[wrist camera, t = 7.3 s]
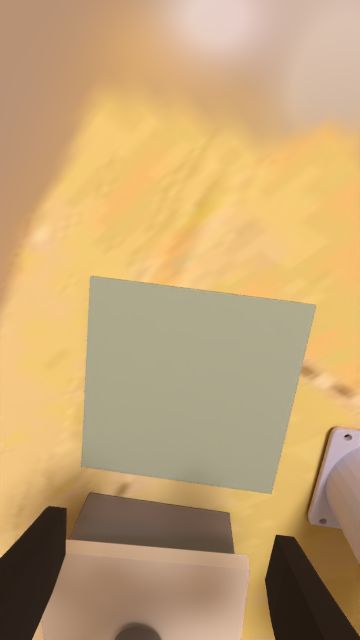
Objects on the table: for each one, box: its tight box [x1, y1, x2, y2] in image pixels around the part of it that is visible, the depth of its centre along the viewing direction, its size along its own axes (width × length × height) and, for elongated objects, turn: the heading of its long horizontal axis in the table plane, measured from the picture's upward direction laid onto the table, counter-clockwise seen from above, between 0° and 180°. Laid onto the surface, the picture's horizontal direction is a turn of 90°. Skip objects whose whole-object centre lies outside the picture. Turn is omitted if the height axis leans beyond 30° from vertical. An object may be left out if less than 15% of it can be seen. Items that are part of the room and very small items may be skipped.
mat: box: [81, 276, 316, 494], centre depth 20 cm, size 14×14×1 cm
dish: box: [69, 493, 234, 554], centre depth 21 cm, size 11×11×5 cm
